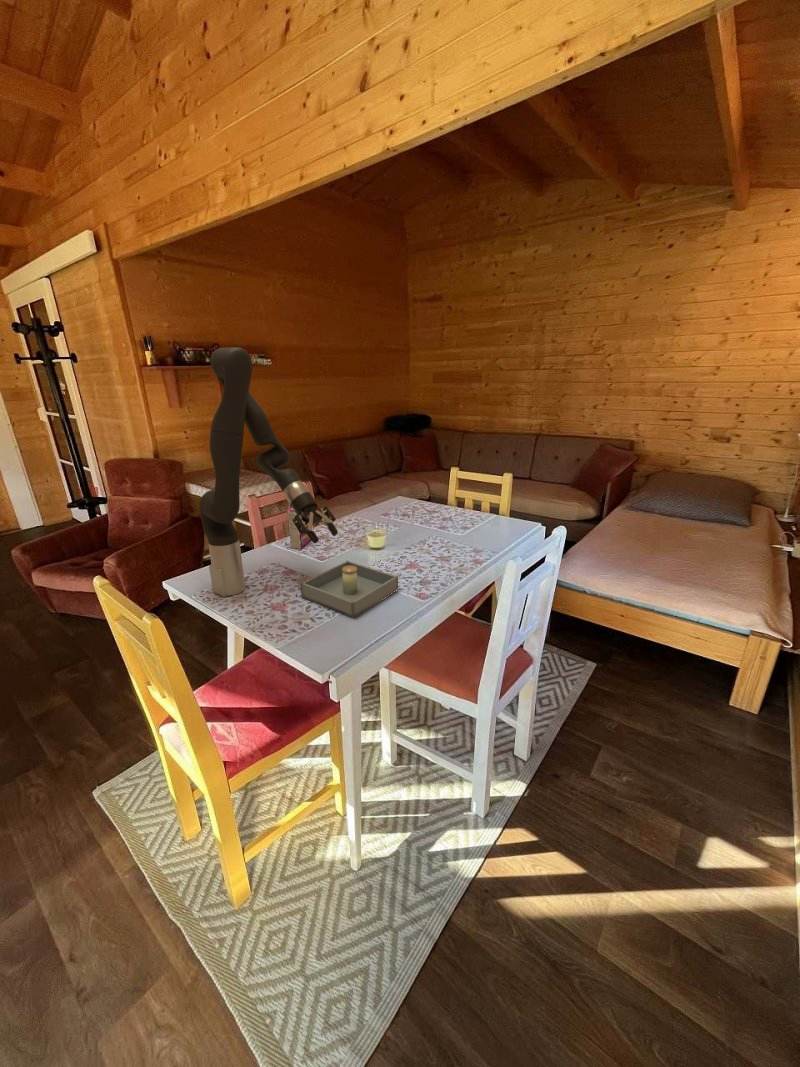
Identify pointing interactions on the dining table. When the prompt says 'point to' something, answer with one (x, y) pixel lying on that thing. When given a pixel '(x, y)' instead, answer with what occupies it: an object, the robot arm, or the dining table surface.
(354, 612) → the bin
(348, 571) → the lidded yellow jar
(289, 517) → the candy bar box
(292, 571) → the dining table surface
